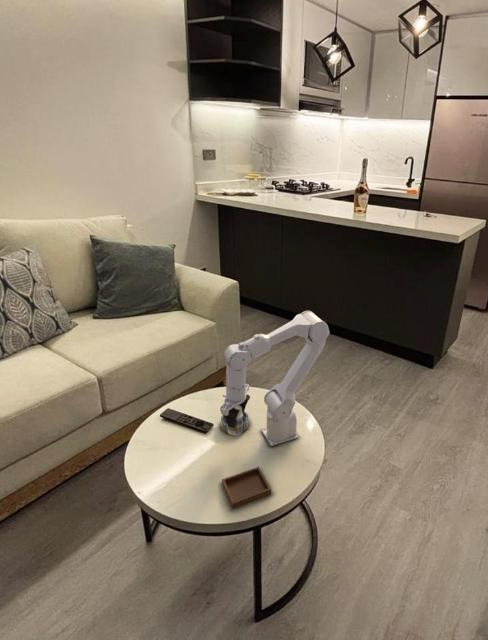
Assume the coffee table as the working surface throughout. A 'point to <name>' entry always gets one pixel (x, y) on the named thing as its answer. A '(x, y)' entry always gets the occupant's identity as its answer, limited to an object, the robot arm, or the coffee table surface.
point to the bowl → (245, 422)
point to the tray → (246, 487)
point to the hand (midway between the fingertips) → (235, 421)
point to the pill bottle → (237, 423)
